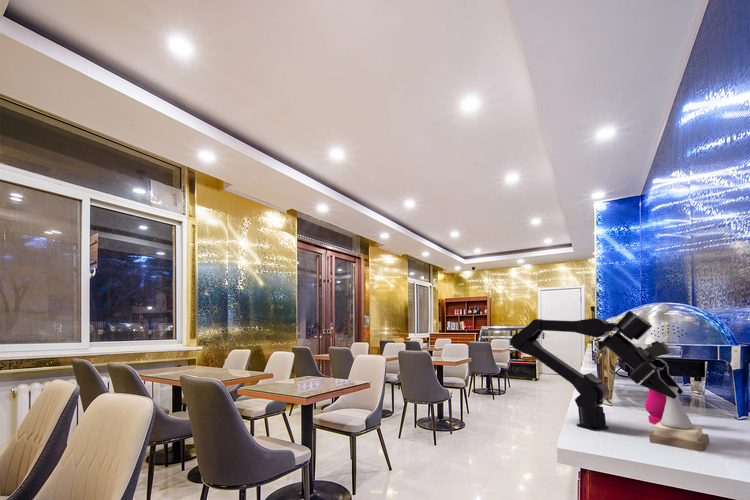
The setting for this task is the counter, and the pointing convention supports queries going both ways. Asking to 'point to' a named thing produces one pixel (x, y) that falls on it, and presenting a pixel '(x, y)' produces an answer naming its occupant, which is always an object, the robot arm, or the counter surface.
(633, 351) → the robot arm
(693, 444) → the tower base
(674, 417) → the flask
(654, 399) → the pepper mill
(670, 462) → the counter surface
